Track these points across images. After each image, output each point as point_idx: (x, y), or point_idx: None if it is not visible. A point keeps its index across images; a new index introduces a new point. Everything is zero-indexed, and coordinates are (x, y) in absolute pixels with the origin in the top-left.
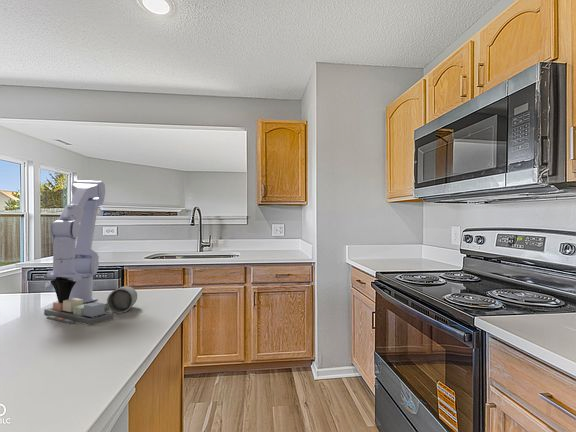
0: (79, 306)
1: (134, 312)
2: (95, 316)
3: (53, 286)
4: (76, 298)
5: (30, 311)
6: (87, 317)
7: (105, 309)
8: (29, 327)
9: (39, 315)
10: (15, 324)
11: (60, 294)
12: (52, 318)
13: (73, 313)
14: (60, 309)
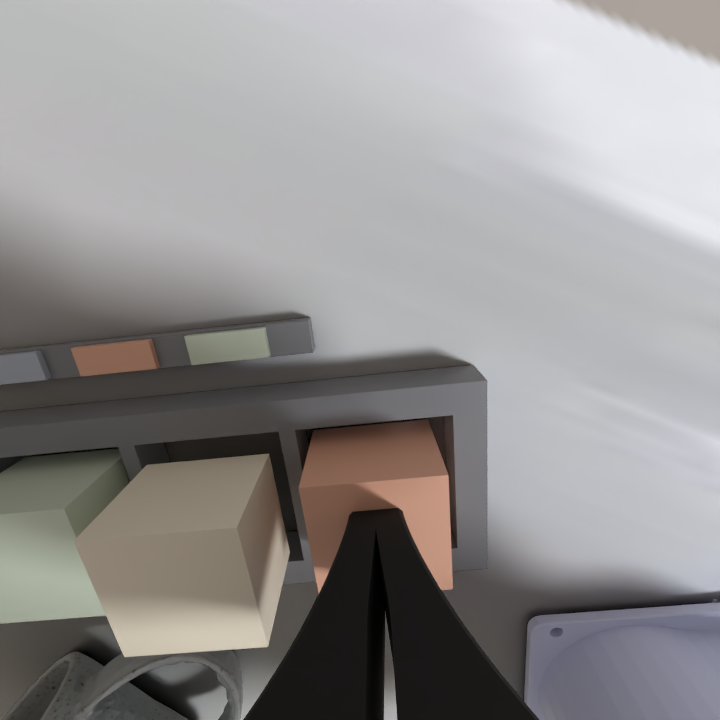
0: (30, 545)
1: (12, 705)
2: None
3: (517, 718)
4: (235, 642)
5: (687, 329)
6: None
7: None
8: (81, 76)
9: (463, 320)
10: (308, 23)
11: (320, 596)
12: (211, 330)
13: (104, 465)
14: (308, 453)
